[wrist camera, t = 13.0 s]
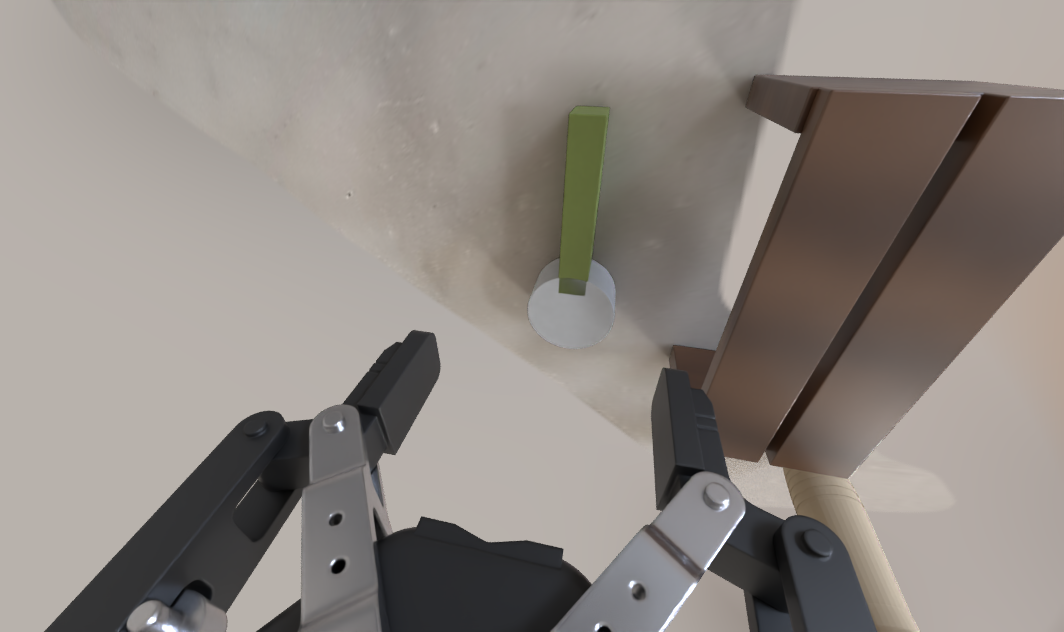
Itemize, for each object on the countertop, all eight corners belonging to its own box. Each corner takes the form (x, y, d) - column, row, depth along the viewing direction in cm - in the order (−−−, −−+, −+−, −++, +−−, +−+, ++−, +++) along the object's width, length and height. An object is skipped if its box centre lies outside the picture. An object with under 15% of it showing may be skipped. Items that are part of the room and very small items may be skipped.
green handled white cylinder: (540, 104, 21) (529, 111, 18) (647, 108, 20) (649, 117, 17) (535, 318, 29) (526, 343, 26) (609, 328, 28) (608, 354, 26)
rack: (754, 74, 18) (824, 89, 12) (975, 81, 17) (1193, 102, 10) (668, 359, 28) (680, 449, 22) (799, 378, 27) (852, 480, 21)
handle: (758, 463, 33) (832, 703, 21) (773, 412, 29) (874, 665, 17) (822, 468, 32) (941, 726, 20) (847, 416, 28) (1010, 691, 16)
